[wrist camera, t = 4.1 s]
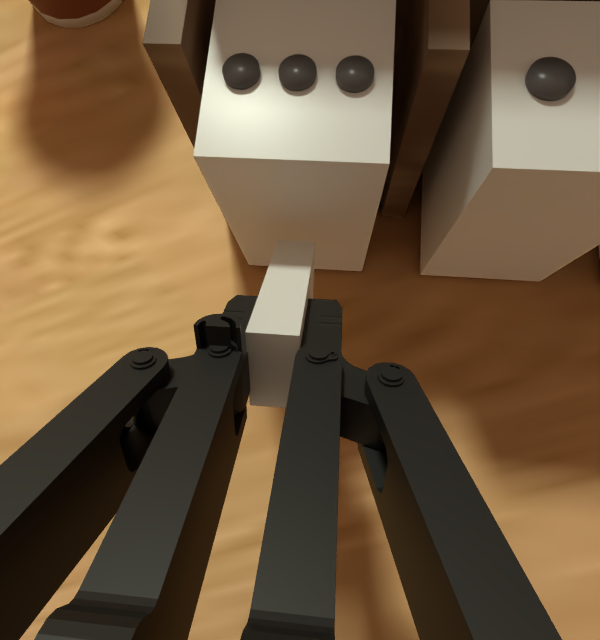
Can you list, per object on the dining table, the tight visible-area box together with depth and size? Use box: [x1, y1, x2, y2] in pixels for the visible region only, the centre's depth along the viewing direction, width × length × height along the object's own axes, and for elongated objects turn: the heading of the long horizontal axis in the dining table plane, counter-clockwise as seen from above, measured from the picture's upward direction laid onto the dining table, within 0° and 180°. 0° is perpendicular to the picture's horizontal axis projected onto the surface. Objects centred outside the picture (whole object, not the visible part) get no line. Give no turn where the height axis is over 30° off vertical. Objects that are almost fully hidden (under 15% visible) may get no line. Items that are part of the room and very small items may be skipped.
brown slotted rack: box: [143, 0, 600, 217], centre depth 16 cm, size 28×8×17 cm, turn 85°
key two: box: [420, 0, 600, 281], centre depth 18 cm, size 6×6×10 cm
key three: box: [193, 0, 396, 271], centre depth 19 cm, size 6×6×10 cm
